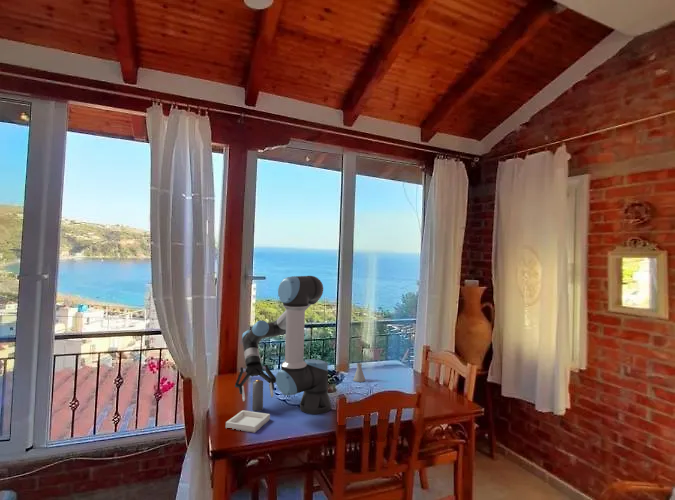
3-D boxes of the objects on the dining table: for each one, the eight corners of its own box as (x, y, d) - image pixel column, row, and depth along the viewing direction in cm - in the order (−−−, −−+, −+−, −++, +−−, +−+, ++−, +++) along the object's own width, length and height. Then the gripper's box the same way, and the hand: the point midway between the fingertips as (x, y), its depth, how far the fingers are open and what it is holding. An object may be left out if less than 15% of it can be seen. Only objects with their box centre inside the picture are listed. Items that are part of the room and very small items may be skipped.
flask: (361, 383, 234) (361, 366, 234) (350, 381, 238) (351, 364, 238) (367, 379, 240) (367, 363, 240) (356, 377, 244) (357, 361, 244)
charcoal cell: (264, 407, 196) (265, 379, 196) (259, 411, 191) (260, 382, 191) (255, 406, 197) (255, 378, 198) (250, 410, 193) (250, 381, 193)
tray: (269, 419, 183) (269, 414, 183) (254, 432, 169) (254, 426, 169) (242, 415, 187) (242, 410, 187) (225, 428, 173) (225, 422, 173)
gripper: (275, 360, 214) (282, 398, 200) (226, 365, 204) (230, 405, 190) (277, 352, 209) (285, 390, 195) (228, 357, 199) (232, 397, 185)
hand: (258, 398), depth 193 cm, fingers open, 13 cm apart
